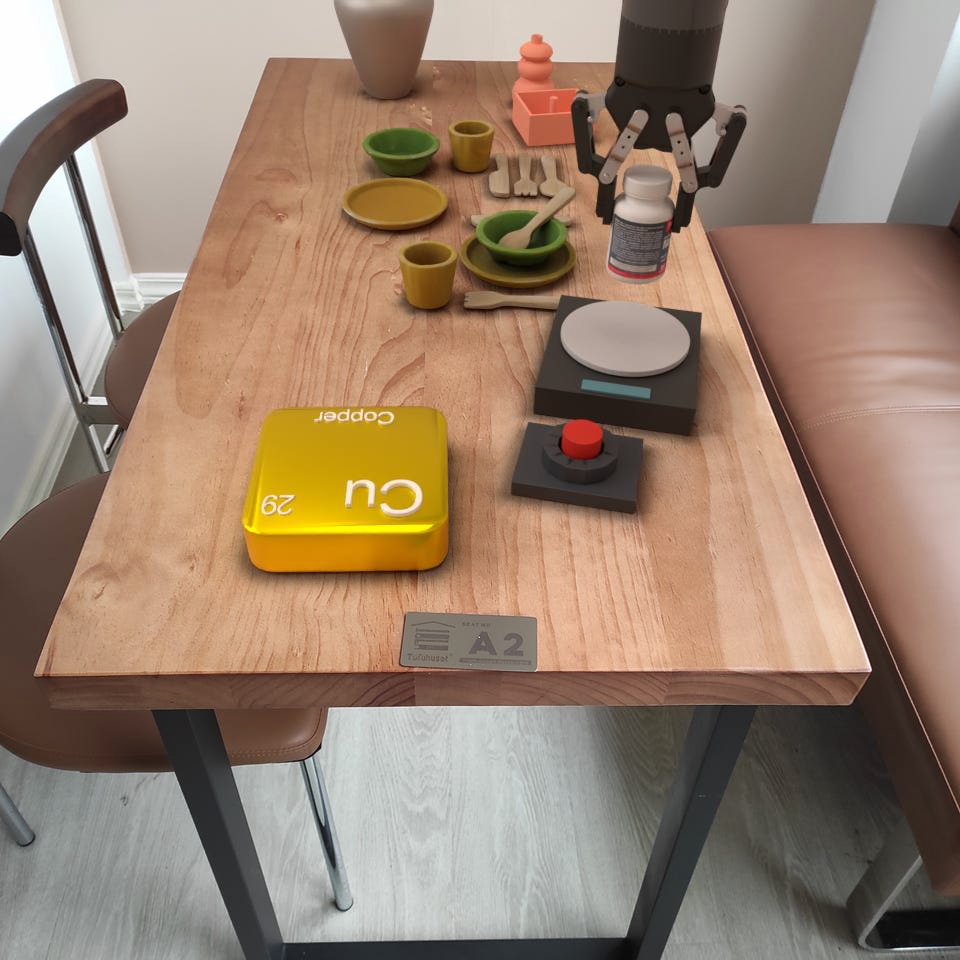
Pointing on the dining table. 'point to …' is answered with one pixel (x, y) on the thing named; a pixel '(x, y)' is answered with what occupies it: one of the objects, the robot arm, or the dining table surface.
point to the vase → (385, 41)
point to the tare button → (581, 439)
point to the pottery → (541, 98)
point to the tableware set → (499, 237)
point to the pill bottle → (641, 225)
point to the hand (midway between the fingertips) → (641, 224)
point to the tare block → (578, 470)
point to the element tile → (349, 490)
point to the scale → (621, 365)
